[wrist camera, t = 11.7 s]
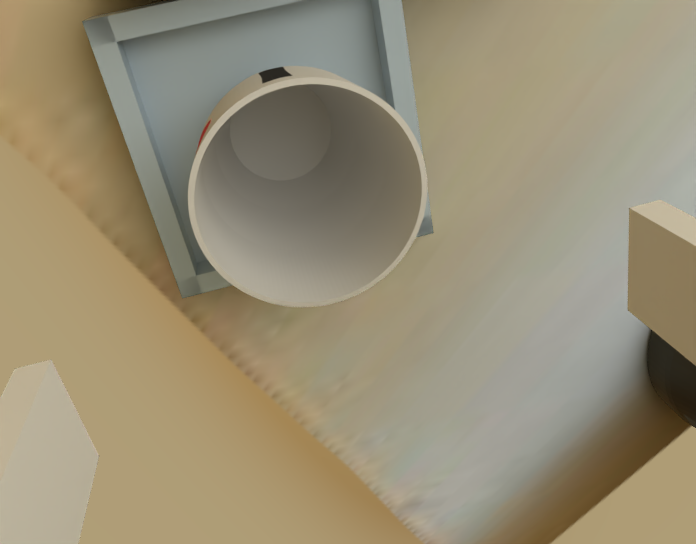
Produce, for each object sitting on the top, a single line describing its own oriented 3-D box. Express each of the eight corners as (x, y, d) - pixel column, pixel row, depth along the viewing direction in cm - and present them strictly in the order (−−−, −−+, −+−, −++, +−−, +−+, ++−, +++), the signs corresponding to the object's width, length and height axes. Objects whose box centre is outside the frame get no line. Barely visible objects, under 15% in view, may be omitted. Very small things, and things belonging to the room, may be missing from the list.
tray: (419, 215, 35) (433, 232, 32) (184, 276, 33) (182, 298, 31) (380, -47, 29) (395, -47, 26) (92, 16, 27) (82, 21, 25)
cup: (274, 0, 28) (305, 18, 19) (398, 125, 31) (473, 189, 22) (157, 138, 29) (135, 215, 20) (287, 242, 33) (317, 346, 24)
